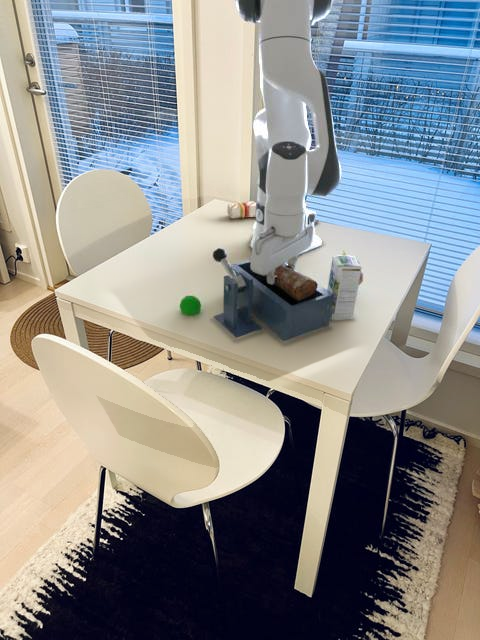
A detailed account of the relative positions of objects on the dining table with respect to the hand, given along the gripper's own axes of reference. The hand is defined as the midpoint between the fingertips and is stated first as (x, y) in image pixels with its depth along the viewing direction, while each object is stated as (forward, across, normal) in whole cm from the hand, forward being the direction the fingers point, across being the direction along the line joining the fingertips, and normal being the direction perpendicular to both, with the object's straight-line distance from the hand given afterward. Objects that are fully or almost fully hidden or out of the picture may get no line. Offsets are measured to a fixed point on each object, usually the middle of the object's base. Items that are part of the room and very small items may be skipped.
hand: (281, 276), depth 118 cm
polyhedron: (+10, -15, +16) cm, 24 cm away
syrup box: (+10, +8, -12) cm, 18 cm away
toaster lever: (-2, -10, +8) cm, 13 cm away
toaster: (+10, 0, 0) cm, 10 cm away
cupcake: (+10, +20, -7) cm, 23 cm away
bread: (+2, -1, 0) cm, 2 cm away
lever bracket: (+9, -12, +4) cm, 15 cm away
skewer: (+10, +48, +42) cm, 64 cm away
